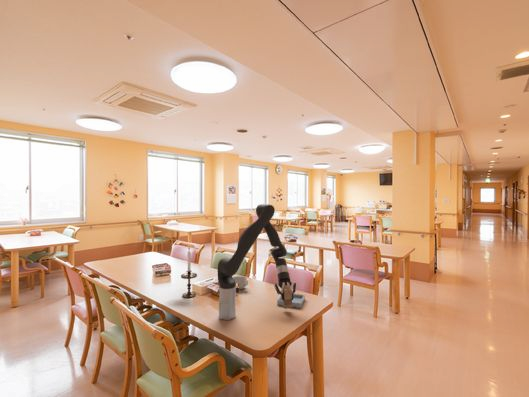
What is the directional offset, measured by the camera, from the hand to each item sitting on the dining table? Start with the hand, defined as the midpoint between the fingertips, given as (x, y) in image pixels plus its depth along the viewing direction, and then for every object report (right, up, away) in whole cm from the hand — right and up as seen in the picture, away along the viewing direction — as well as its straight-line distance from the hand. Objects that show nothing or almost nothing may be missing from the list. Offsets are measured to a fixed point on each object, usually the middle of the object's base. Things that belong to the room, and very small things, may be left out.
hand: (288, 300), depth 157 cm
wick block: (0, -5, +2) cm, 5 cm away
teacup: (-32, -8, +42) cm, 53 cm away
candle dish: (+4, -7, +16) cm, 18 cm away
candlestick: (-67, -7, +27) cm, 72 cm away
